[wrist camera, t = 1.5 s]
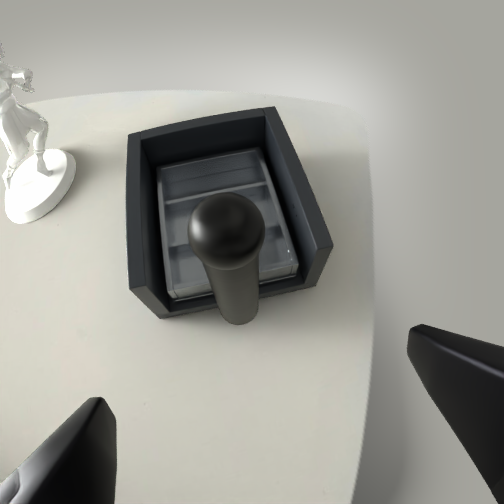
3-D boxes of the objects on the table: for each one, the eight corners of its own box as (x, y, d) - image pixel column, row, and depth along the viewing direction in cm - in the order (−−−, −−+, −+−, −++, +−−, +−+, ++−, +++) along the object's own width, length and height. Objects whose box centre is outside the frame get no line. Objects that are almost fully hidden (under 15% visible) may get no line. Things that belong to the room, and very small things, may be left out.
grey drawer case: (315, 286, 22) (334, 245, 17) (159, 319, 21) (128, 289, 16) (272, 159, 27) (275, 105, 22) (148, 184, 26) (127, 134, 21)
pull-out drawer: (306, 314, 20) (353, 221, 10) (181, 341, 19) (107, 272, 9) (259, 165, 25) (260, 44, 16) (162, 184, 25) (123, 69, 15)
